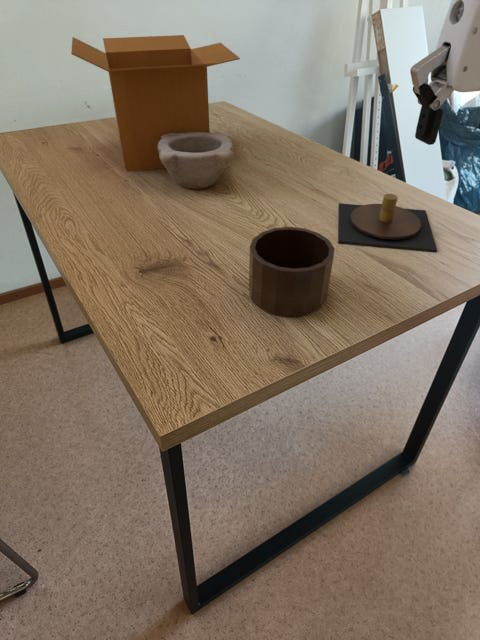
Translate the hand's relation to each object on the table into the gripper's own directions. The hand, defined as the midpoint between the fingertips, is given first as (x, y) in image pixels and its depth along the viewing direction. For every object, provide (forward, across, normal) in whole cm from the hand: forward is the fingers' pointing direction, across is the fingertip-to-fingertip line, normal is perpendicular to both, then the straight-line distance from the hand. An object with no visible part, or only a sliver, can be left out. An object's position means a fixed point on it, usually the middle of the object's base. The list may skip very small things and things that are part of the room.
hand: (456, 136), depth 57 cm
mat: (+25, +9, +21) cm, 34 cm away
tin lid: (+24, +9, +21) cm, 33 cm away
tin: (+25, -18, +8) cm, 32 cm away
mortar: (+24, -21, +55) cm, 63 cm away
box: (+24, -24, +75) cm, 82 cm away
